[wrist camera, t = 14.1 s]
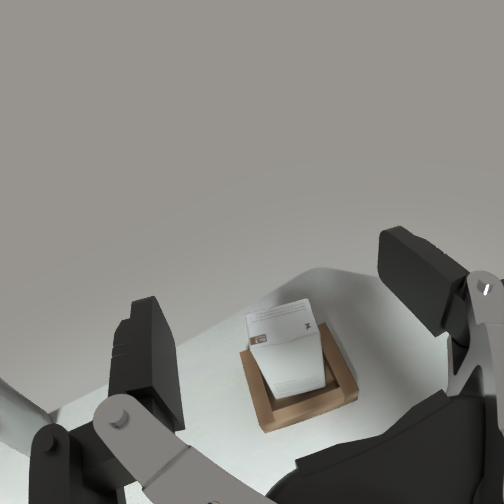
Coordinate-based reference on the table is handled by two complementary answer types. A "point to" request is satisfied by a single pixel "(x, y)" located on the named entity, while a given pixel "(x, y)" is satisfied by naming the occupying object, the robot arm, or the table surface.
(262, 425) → the wooden tray
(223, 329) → the table surface
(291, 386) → the skincare box
